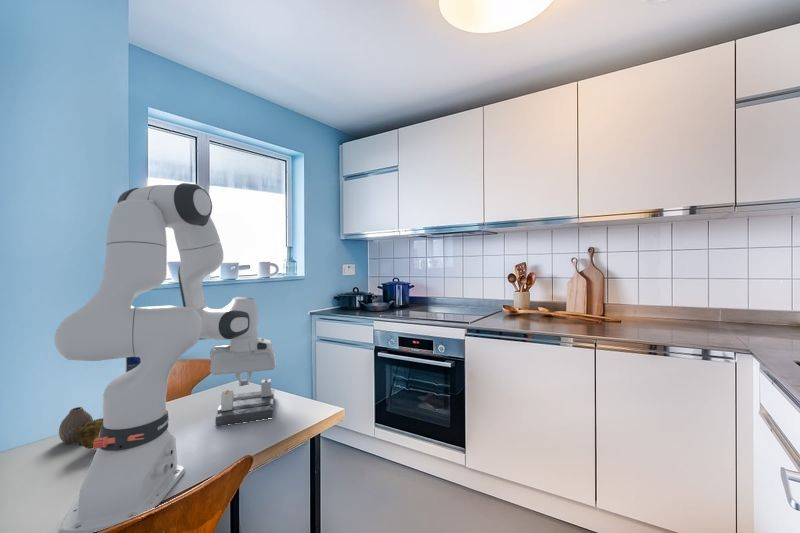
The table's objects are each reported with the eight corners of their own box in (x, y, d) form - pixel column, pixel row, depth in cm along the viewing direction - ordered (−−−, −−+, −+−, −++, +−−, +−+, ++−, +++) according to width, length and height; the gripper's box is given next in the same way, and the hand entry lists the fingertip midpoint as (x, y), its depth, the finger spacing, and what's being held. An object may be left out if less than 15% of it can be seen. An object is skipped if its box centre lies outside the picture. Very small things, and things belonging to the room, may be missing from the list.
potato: (143, 441, 93) (142, 412, 93) (78, 462, 83) (78, 430, 83) (134, 432, 98) (134, 404, 98) (73, 450, 88) (73, 420, 88)
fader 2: (270, 396, 117) (270, 380, 117) (261, 397, 116) (261, 381, 116) (270, 393, 120) (270, 378, 120) (261, 394, 119) (261, 379, 119)
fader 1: (231, 409, 106) (231, 392, 106) (221, 411, 105) (221, 394, 105) (233, 406, 109) (233, 389, 109) (222, 407, 108) (222, 390, 108)
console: (272, 419, 106) (272, 407, 106) (215, 426, 101) (215, 414, 101) (274, 398, 123) (274, 387, 123) (225, 403, 118) (225, 393, 118)
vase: (71, 448, 89) (71, 415, 89) (51, 445, 91) (51, 412, 91) (99, 435, 96) (99, 404, 96) (80, 432, 97) (80, 402, 97)
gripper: (207, 348, 109) (207, 391, 109) (275, 343, 115) (275, 384, 115) (212, 344, 115) (212, 385, 115) (276, 340, 121) (276, 379, 121)
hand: (244, 385), depth 115 cm, fingers closed
